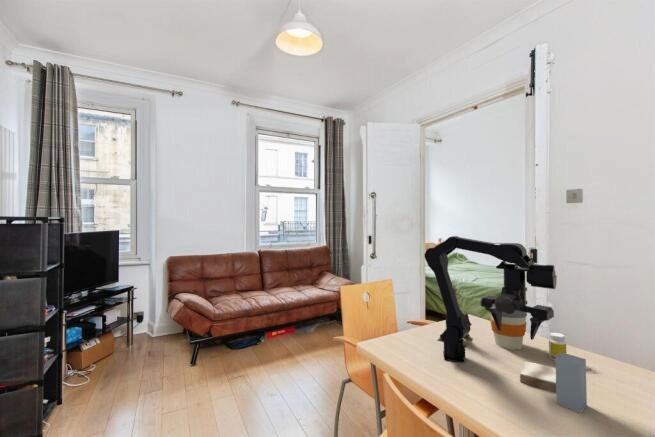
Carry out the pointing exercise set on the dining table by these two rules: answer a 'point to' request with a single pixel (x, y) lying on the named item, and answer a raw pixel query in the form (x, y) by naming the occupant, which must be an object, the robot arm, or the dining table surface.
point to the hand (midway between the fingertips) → (515, 334)
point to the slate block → (571, 382)
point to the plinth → (538, 375)
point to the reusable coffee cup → (510, 330)
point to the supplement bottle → (556, 345)
